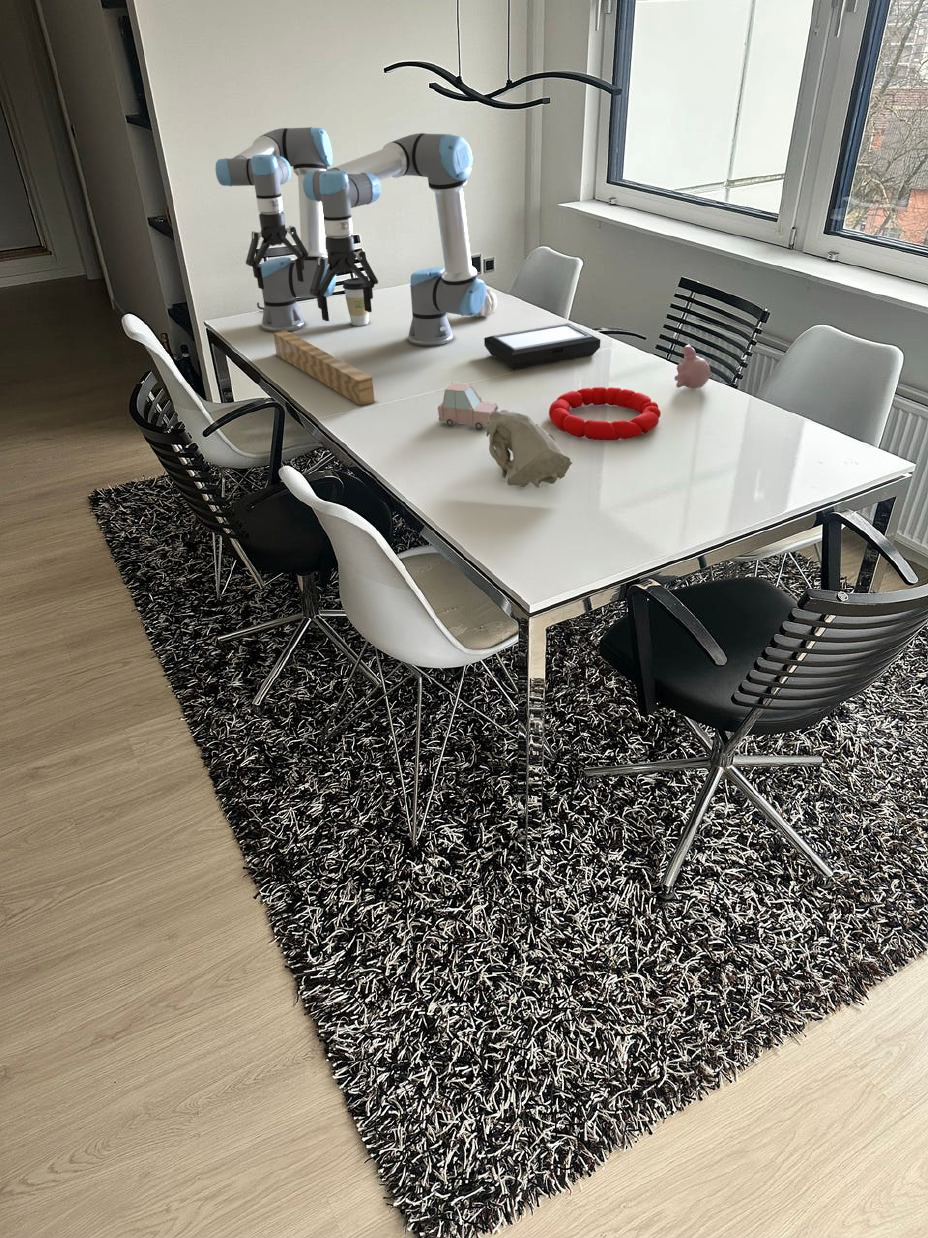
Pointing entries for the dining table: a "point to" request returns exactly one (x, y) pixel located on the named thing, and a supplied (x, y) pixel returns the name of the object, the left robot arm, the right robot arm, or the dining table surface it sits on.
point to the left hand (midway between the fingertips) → (281, 284)
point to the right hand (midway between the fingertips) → (347, 315)
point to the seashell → (488, 304)
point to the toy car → (465, 406)
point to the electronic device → (542, 345)
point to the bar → (325, 367)
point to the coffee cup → (356, 301)
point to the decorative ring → (604, 428)
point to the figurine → (692, 370)
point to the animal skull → (525, 450)
